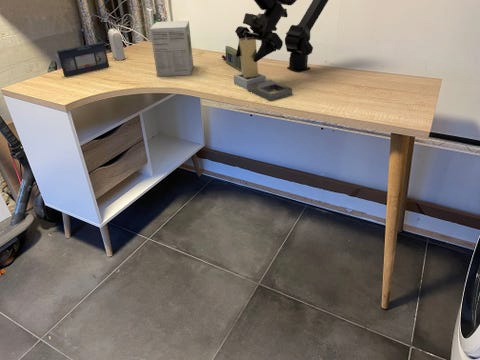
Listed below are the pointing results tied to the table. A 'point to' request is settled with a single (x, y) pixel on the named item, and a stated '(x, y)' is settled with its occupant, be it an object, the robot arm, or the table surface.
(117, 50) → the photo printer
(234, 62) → the handheld radio
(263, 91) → the grey holder tray
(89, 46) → the vhs cassette tape
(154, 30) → the supplement box
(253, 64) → the brass tower with button
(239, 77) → the parts tray
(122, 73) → the table surface
